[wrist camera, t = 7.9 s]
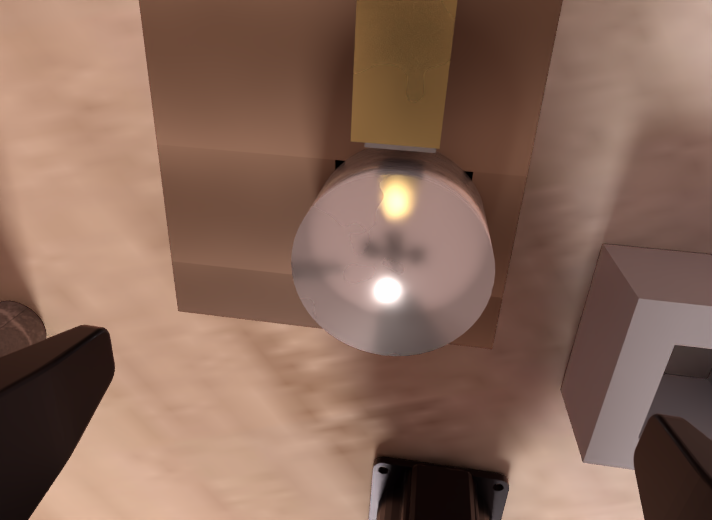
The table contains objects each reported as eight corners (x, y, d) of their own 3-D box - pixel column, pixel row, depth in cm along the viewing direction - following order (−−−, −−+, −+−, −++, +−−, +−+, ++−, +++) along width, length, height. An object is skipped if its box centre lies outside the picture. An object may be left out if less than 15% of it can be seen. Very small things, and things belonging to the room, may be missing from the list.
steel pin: (466, 257, 20) (478, 366, 14) (334, 243, 21) (292, 344, 15) (488, 121, 18) (512, 185, 12) (338, 110, 19) (290, 165, 13)
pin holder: (732, 411, 22) (788, 491, 18) (560, 389, 23) (582, 462, 19) (805, 263, 19) (890, 325, 15) (602, 243, 20) (639, 298, 16)
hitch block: (483, 289, 21) (502, 416, 15) (219, 260, 22) (131, 367, 16) (546, -59, 16) (620, -96, 9) (193, -73, 17) (42, -115, 10)
